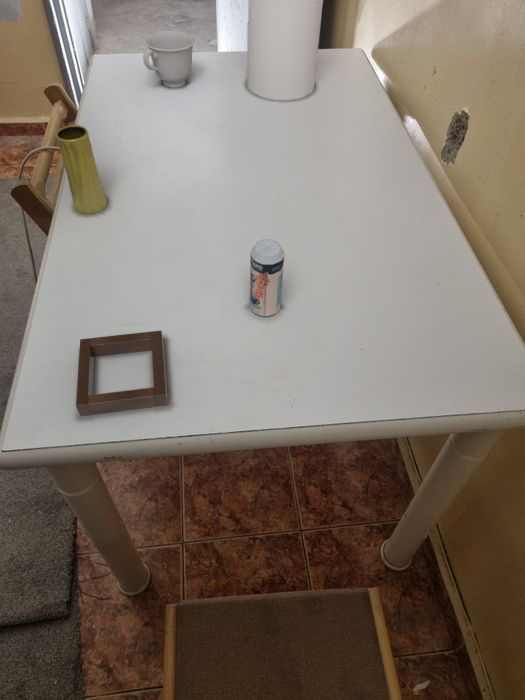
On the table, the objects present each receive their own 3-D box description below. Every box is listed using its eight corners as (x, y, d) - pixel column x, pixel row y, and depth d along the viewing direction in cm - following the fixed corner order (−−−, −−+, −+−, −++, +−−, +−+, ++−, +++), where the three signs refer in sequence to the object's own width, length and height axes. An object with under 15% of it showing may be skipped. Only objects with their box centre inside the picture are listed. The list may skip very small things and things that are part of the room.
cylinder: (322, 97, 129) (338, -39, 108) (255, 102, 126) (257, -36, 105) (303, 68, 140) (314, -61, 118) (241, 72, 137) (240, -59, 115)
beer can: (246, 299, 83) (246, 240, 74) (274, 294, 84) (278, 234, 75) (255, 321, 80) (256, 261, 71) (284, 314, 81) (289, 255, 72)
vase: (67, 208, 97) (45, 135, 86) (88, 192, 101) (69, 120, 90) (93, 218, 95) (73, 145, 84) (114, 201, 99) (97, 129, 88)
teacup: (132, 87, 130) (125, 44, 122) (173, 68, 137) (169, 26, 130) (167, 102, 125) (162, 58, 117) (207, 81, 133) (205, 39, 125)
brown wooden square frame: (80, 416, 68) (75, 406, 66) (84, 350, 75) (79, 339, 74) (168, 405, 70) (165, 394, 68) (163, 341, 77) (161, 330, 75)
